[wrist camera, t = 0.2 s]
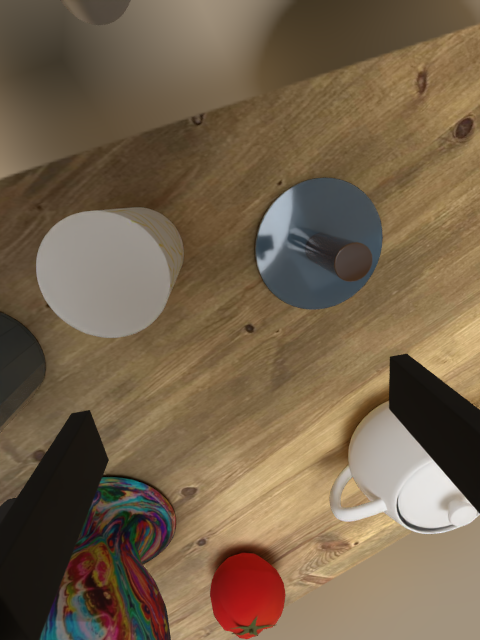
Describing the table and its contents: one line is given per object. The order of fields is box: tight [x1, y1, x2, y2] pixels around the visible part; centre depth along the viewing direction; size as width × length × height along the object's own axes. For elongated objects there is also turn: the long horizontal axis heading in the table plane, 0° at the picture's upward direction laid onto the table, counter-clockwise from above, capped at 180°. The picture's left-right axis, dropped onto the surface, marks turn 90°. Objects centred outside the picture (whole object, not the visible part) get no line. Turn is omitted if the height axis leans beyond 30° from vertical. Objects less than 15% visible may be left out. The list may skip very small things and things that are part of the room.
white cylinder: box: [36, 207, 184, 338], centre depth 26 cm, size 8×8×12 cm
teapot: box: [330, 401, 480, 534], centre depth 37 cm, size 25×16×12 cm, turn 111°
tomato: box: [210, 553, 285, 639], centre depth 45 cm, size 9×10×8 cm
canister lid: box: [255, 178, 383, 309], centre depth 29 cm, size 13×13×9 cm
